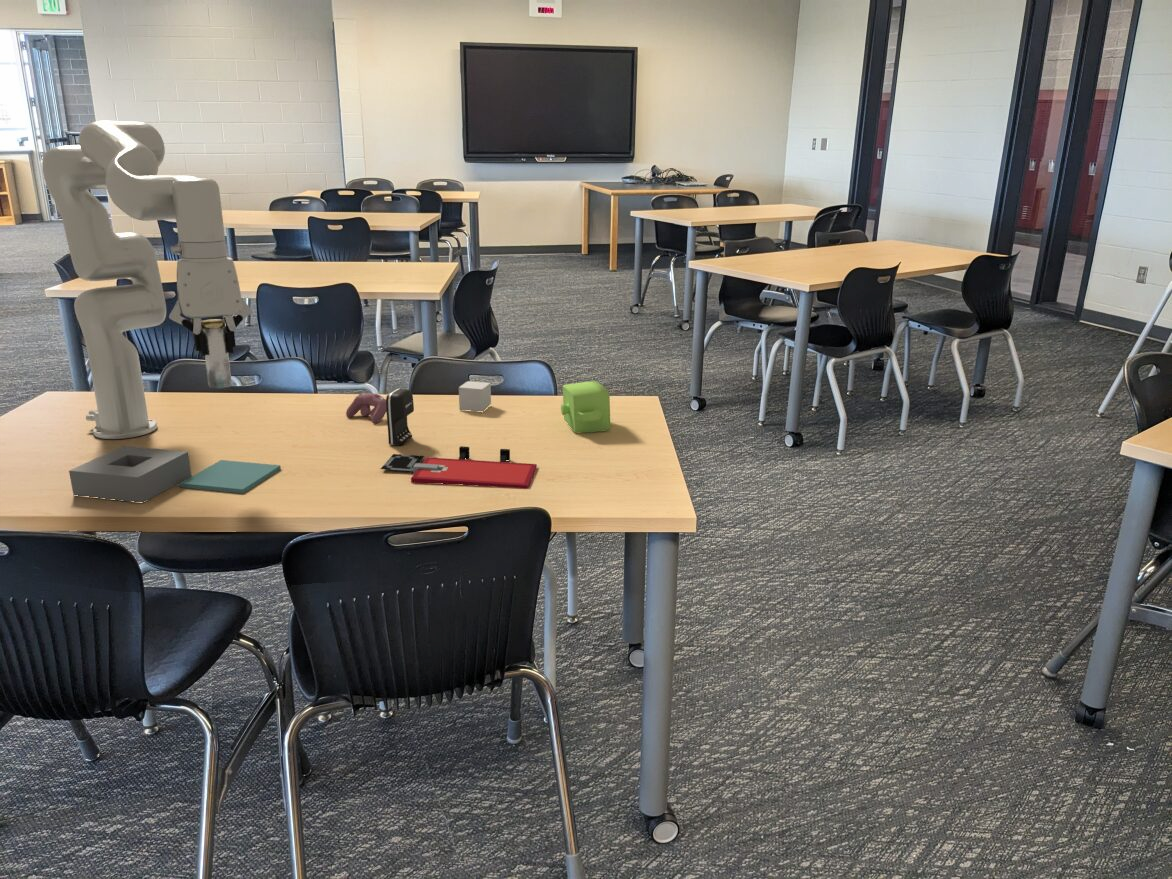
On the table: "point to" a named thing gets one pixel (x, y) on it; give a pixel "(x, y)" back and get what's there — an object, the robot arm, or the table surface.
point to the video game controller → (368, 406)
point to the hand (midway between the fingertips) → (216, 352)
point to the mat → (230, 476)
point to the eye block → (130, 473)
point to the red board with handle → (465, 470)
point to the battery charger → (399, 415)
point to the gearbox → (586, 406)
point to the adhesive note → (474, 396)
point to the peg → (216, 353)
